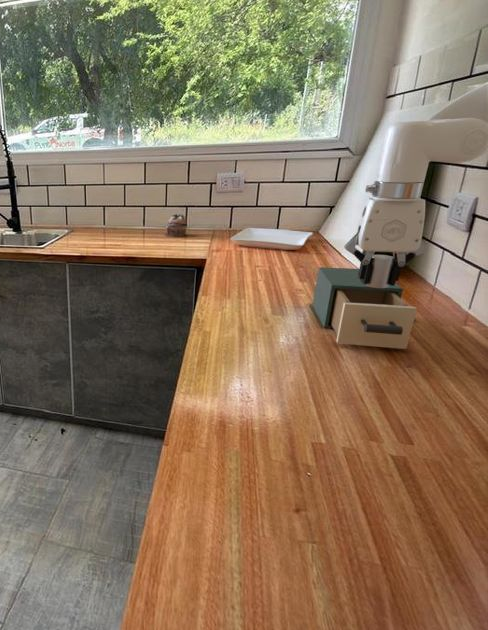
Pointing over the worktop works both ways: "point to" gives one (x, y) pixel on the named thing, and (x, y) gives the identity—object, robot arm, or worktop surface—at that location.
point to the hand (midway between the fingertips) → (376, 282)
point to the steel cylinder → (380, 271)
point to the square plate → (271, 238)
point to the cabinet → (339, 280)
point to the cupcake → (176, 226)
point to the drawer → (371, 318)
